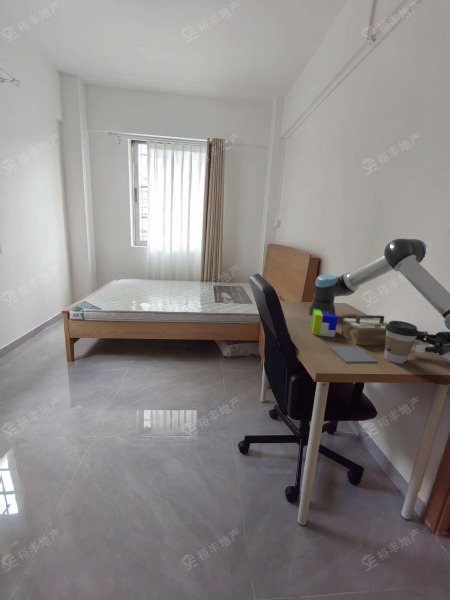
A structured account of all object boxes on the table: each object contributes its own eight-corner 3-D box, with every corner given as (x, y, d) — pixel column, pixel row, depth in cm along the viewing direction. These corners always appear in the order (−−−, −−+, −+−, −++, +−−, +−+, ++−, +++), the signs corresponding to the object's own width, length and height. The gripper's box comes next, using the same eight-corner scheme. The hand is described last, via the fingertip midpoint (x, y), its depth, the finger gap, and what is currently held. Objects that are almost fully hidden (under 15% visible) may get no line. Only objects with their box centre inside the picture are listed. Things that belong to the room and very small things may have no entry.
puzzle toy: (334, 337, 131) (337, 317, 128) (312, 334, 132) (315, 314, 130) (330, 329, 140) (334, 311, 138) (310, 327, 142) (313, 309, 139)
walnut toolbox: (340, 333, 135) (344, 311, 132) (375, 333, 138) (379, 311, 135) (355, 344, 123) (360, 320, 120) (393, 344, 125) (399, 320, 122)
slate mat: (329, 348, 118) (329, 346, 118) (357, 348, 120) (357, 346, 119) (345, 362, 105) (346, 361, 105) (376, 362, 107) (377, 361, 107)
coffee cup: (373, 352, 116) (380, 318, 112) (400, 353, 116) (408, 320, 112) (388, 365, 105) (396, 328, 101) (417, 367, 105) (427, 330, 101)
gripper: (478, 364, 100) (426, 365, 97) (422, 337, 124) (379, 337, 121) (484, 345, 98) (431, 345, 95) (426, 321, 122) (383, 321, 119)
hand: (402, 340), depth 108 cm, fingers open, 13 cm apart
